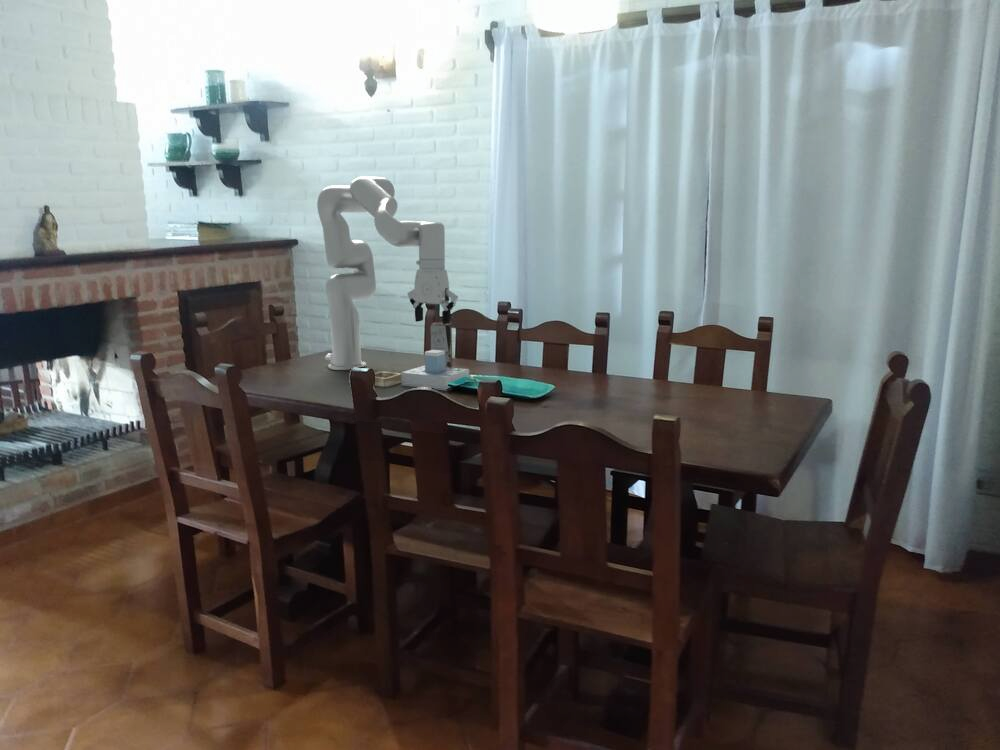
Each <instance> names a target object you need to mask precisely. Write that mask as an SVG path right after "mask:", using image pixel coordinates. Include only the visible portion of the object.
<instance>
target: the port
mask: <svg viewBox="0 0 1000 750" xmlns="http://www.w3.org/2000/svg"><path fill="white" fill-rule="evenodd" d="M400 373H401V380H402V382H401V386H405V387H413V388H420V386H425V387H431V388H434V389H433V390H439V391H447V390H446V389H448V388H449V386H448V383H450V382H452V381H455V380H458V379H460V378H462V377H466V376H469V377H470V368H460V367H453V368H451V367H445V372H442V373H439V374H437V373H427V372H425V364H424V365H421V366H418V367H415V368H411V369H407V370H405V371H402V372H400Z"/></svg>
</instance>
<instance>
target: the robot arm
mask: <svg viewBox="0 0 1000 750" xmlns="http://www.w3.org/2000/svg"><path fill="white" fill-rule="evenodd" d="M316 202H317V203H316V204H317V205H316V206H317V212H318V217H319V220H320V223H321V227H322V233H323V241H324V250H325V257H326V262H327V265H328V266H329V267H330V268H331V269H334V270H353V272H346V273H345V272H344V273H336V274H333V275H331V276H330V277H329V278H328V279H327V280H326V282H325V287H324V289H325V293H326V297H327V303H328V308H329V309H328V310H329V318H330V320H329V321H330V332H331V333H330V335H331V352H332V353H327V354H326V355H325V357H324V360H326V361H327V360H328V361H330V363H329V364H328V365H327V366H328V369H330V370H335V371H351V370H350V369H351V368H353V367H364V366H365V367H367V363H366V362H365V361H362V348H361V345H362V344H361V329H360V325H361V324H360V316H359V311H358V309H357V307H356V306H355V304H354V303H353V302H358V301H368V300H370V299H372V298H373V297H374V295H375V294H376V289H377V282H376V272H375V264H374V257H373V251H372V249H371V247H370V246H369V245H370V244H368V243H367V242H366V241H364V240H361V239H353V240H352V238H351V235H350V234H351V233H350V226H349V225H348V222H347V220H346V219H345V217H344V216H343V215H342V213H367V212H368V213H369V214H370V215H371V216H372V217H373V218H374V219H373V220H374V225H375V229H376V231H377V233H378V234H379V235H380V237H382V238H383V239H384V240H385V241H386V242H387V243H388V244H390V245H392V246H395V247H398V248H406V247H407V248H408V247H418V259H417V260H416V265H417V266H419V268H417V269H416V271H415V277H414V278H415V279H414V287H413V289H412V290H411V291H409V292H407V296H408V299H409V303H411V305H412V308H414V320H415V322H418V323H419V322H422V321H424V308H423V305H424V304H428V305H440V306H441V308H442V309H443V311H442V313H441V314H442V318H441V319H442V321H441V322H442V323H443V324H448V323H450V322H451V319H452V318H451V311H452V310H453V308H454V307H455V306H456V303H457V301H458V299H459V296H458V295H457V294H455V293H454V292H453V291H451V290H450V284H449V283H450V282H449V281H450V280H449V276H448V270H447V269H446V259H445V258H446V254H445V253H446V252H445V251H446V250H445V248H446V246H445V245H446V244H445V243H446V242H445V239H446V238H445V233H446V231H445V229H446V228H445V226H444V224H443V223H442V222H438V221H437V222H435V221H434V222H433V221H431V222H430V221H424V220H397V218H395V217H394V216H395V215H396V212H397V210H398V202H397V199H395V188H394V184H393V183H392V181H390V180H389V179H388V178H386V177H384V176H382V177H381V176H359V177H357V178H355V179H353V180H352V181H351V183H350V185H330V186H327V187H324V188H323V189H322V190H321V191H320V192H319V195H318V197H317V201H316ZM449 301H450V302H449ZM359 365H361V366H359ZM365 367H364V368H365Z"/></svg>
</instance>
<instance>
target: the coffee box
mask: <svg viewBox="0 0 1000 750" xmlns="http://www.w3.org/2000/svg"><path fill="white" fill-rule="evenodd" d="M452 323H453V322H452V321H450V323H448V324H443V323H442V321H439V322H436V321H435V322H434V321H433V322H432V323H431V324H430V328H429V329H430V350H442V351H445V367H451V368H454V367H453V337H452V336H453V334H452V333H453V331H452V325H453V324H452Z"/></svg>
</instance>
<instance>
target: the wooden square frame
mask: <svg viewBox="0 0 1000 750" xmlns="http://www.w3.org/2000/svg"><path fill="white" fill-rule="evenodd" d="M374 373H375V379H376V381H375V386H374V387H376V386H377V387H383V388H389V387H392V386H395V385H398V384H402V380H401V372H392V371H383V370H382V371H381V370H380V371H377V372H374Z"/></svg>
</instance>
